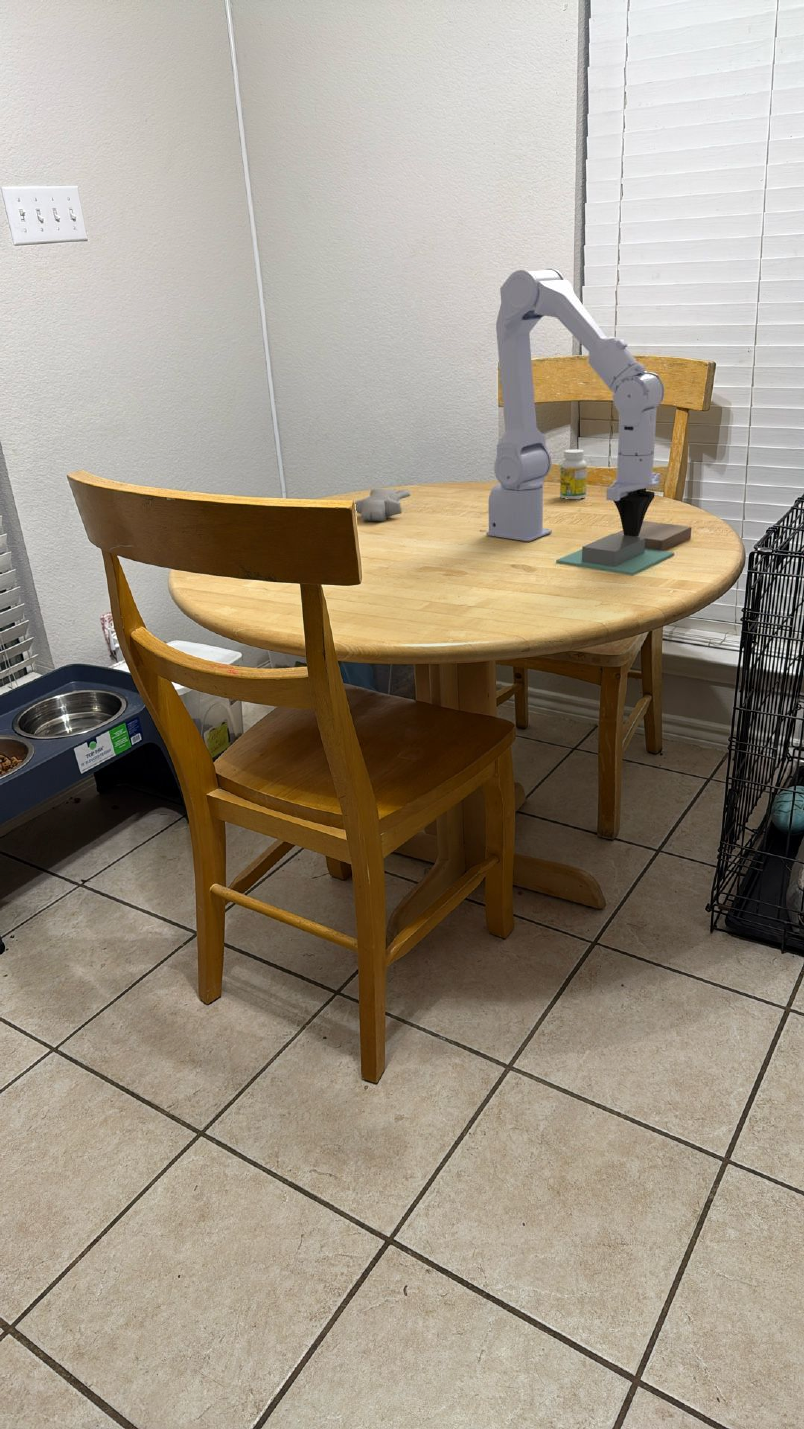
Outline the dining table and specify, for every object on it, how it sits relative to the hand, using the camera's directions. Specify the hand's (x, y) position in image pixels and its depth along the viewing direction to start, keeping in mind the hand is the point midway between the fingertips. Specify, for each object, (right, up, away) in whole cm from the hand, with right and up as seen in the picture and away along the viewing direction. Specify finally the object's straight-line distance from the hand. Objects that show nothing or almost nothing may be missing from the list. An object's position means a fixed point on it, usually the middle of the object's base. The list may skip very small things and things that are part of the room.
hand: (631, 535), depth 162 cm
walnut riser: (+5, 0, +6) cm, 8 cm away
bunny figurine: (-42, +10, +35) cm, 56 cm away
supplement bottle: (-2, +16, +42) cm, 45 cm away
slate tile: (-4, -4, -3) cm, 6 cm away
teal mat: (-3, -4, -2) cm, 6 cm away
